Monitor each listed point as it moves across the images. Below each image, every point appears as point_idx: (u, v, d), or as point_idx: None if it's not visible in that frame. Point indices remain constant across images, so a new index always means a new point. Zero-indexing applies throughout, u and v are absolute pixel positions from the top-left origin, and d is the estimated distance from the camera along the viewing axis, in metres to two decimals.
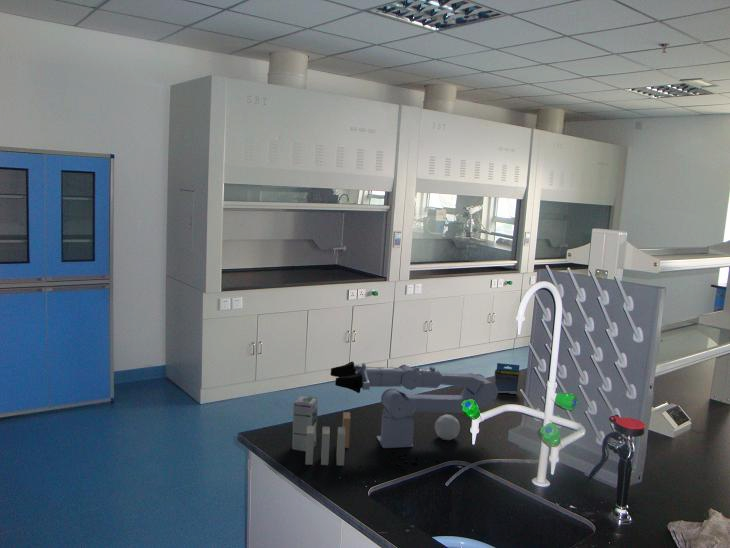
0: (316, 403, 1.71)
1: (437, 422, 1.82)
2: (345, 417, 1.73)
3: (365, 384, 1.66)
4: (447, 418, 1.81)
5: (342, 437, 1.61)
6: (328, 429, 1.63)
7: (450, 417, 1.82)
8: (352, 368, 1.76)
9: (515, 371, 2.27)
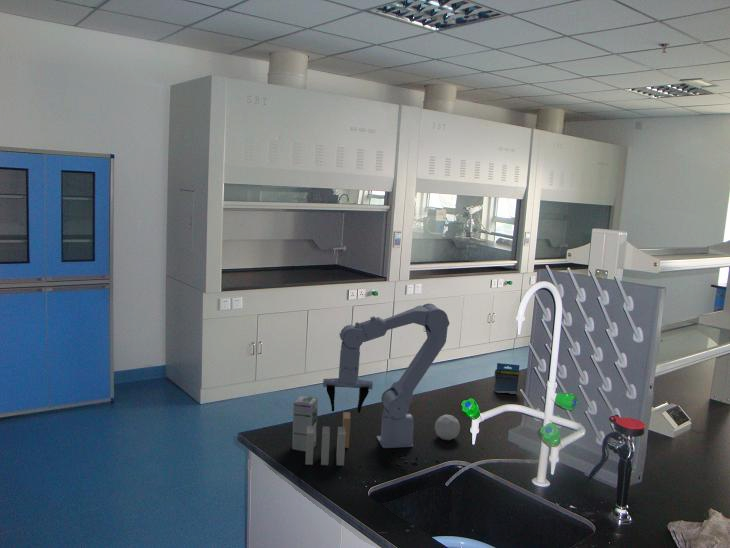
0: (316, 403, 1.71)
1: (437, 422, 1.82)
2: (345, 417, 1.73)
3: None
4: (447, 418, 1.81)
5: (342, 437, 1.61)
6: (328, 429, 1.63)
7: (450, 417, 1.82)
8: (334, 390, 1.72)
9: (515, 371, 2.27)
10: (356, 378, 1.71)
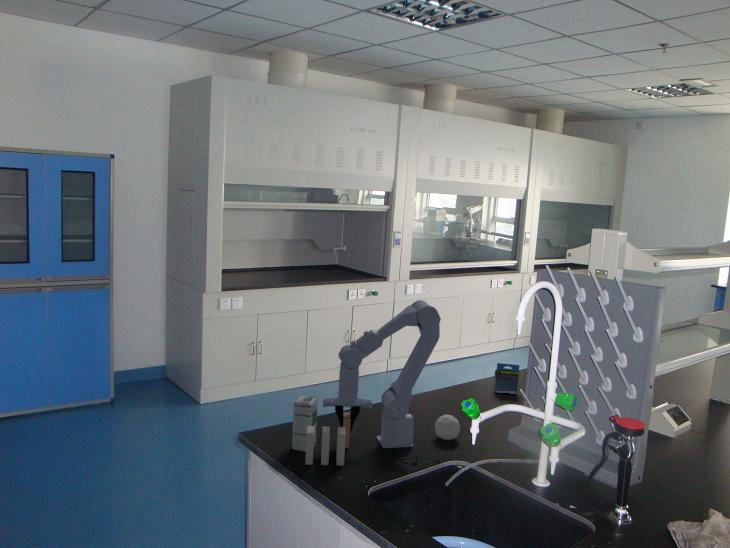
0: (316, 403, 1.71)
1: (437, 422, 1.82)
2: (345, 417, 1.73)
3: None
4: (447, 419, 1.81)
5: (342, 437, 1.61)
6: (328, 429, 1.63)
7: (450, 417, 1.82)
8: None
9: (515, 371, 2.27)
10: (355, 398, 1.72)
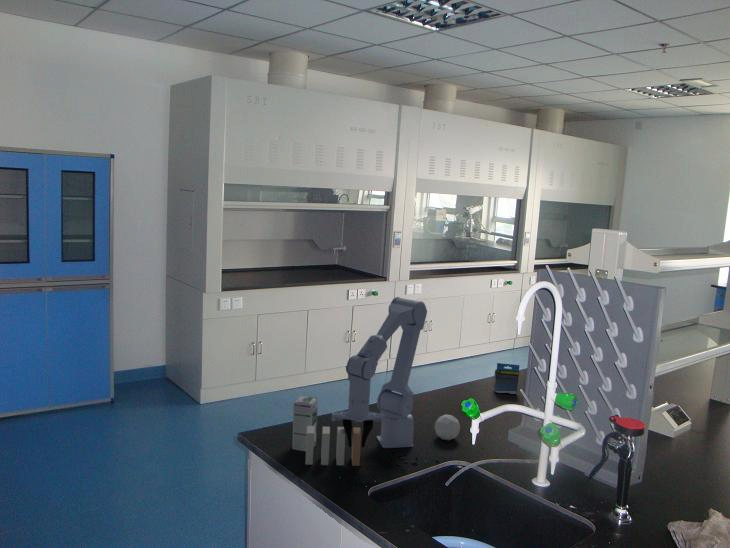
0: (316, 403, 1.71)
1: (437, 422, 1.82)
2: (355, 433, 1.62)
3: (384, 420, 1.63)
4: (447, 419, 1.81)
5: (342, 437, 1.61)
6: (328, 429, 1.63)
7: (450, 417, 1.82)
8: (351, 425, 1.62)
9: (515, 371, 2.27)
10: (367, 411, 1.61)
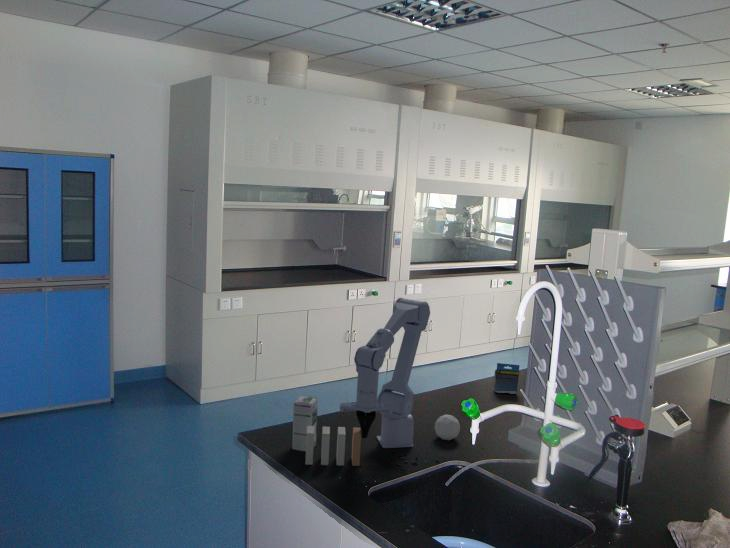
0: (316, 403, 1.71)
1: (437, 422, 1.82)
2: (355, 433, 1.62)
3: (392, 411, 1.62)
4: (447, 419, 1.81)
5: (342, 437, 1.61)
6: (328, 429, 1.63)
7: (450, 417, 1.82)
8: (365, 416, 1.62)
9: (515, 371, 2.27)
10: (375, 402, 1.61)
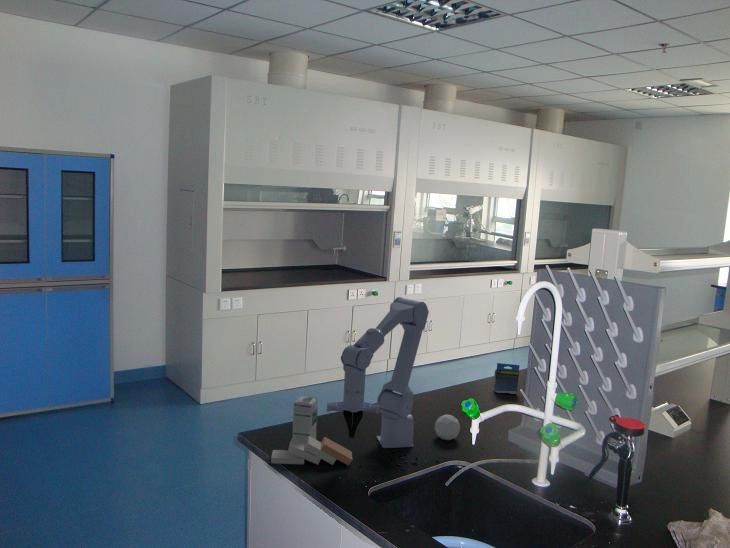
0: (316, 403, 1.71)
1: (437, 422, 1.82)
2: (321, 447, 1.62)
3: (379, 410, 1.62)
4: (447, 419, 1.81)
5: (309, 447, 1.60)
6: (291, 442, 1.63)
7: (450, 417, 1.82)
8: None
9: (515, 371, 2.27)
10: (362, 402, 1.60)
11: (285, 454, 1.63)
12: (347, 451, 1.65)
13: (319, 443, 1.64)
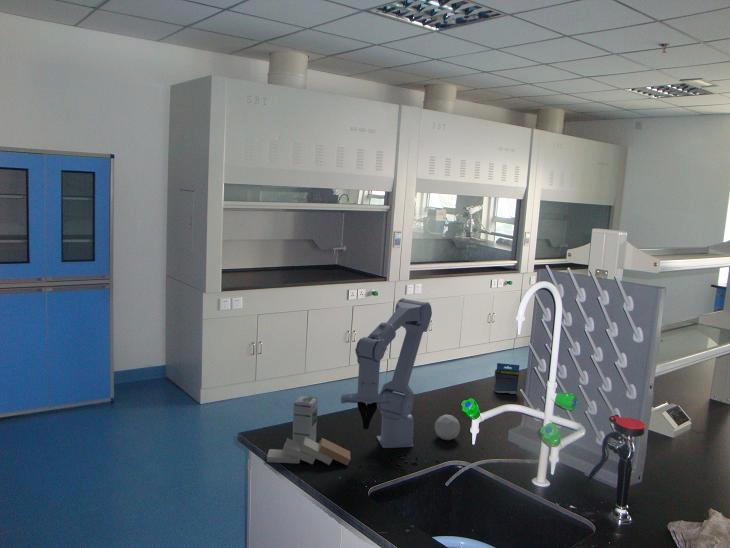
0: (316, 403, 1.71)
1: (437, 422, 1.82)
2: (319, 448, 1.62)
3: (393, 402, 1.62)
4: (447, 419, 1.81)
5: (305, 447, 1.60)
6: (286, 442, 1.63)
7: (450, 417, 1.82)
8: None
9: (515, 371, 2.27)
10: (376, 393, 1.61)
11: (281, 454, 1.63)
12: (345, 451, 1.65)
13: (315, 444, 1.64)
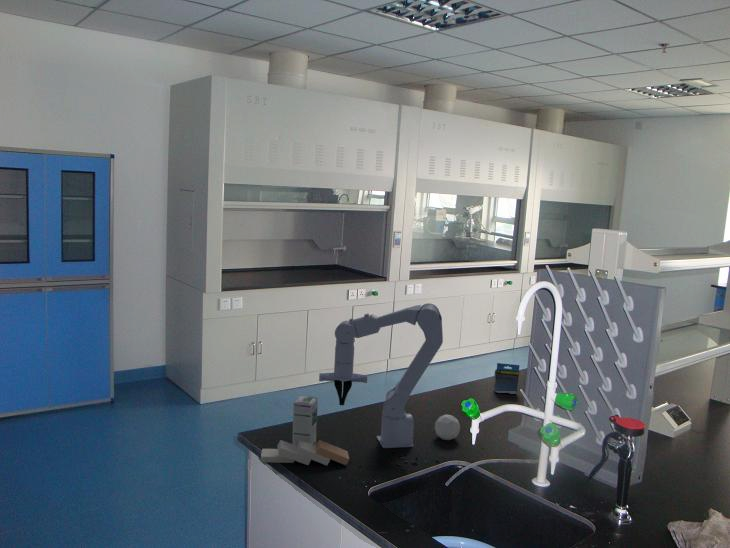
0: (316, 403, 1.71)
1: (437, 422, 1.82)
2: (317, 450, 1.61)
3: None
4: (447, 419, 1.81)
5: (302, 450, 1.59)
6: (280, 444, 1.61)
7: (450, 417, 1.82)
8: None
9: (515, 371, 2.27)
10: (351, 372, 1.76)
11: (275, 453, 1.63)
12: (343, 451, 1.65)
13: (311, 446, 1.63)
